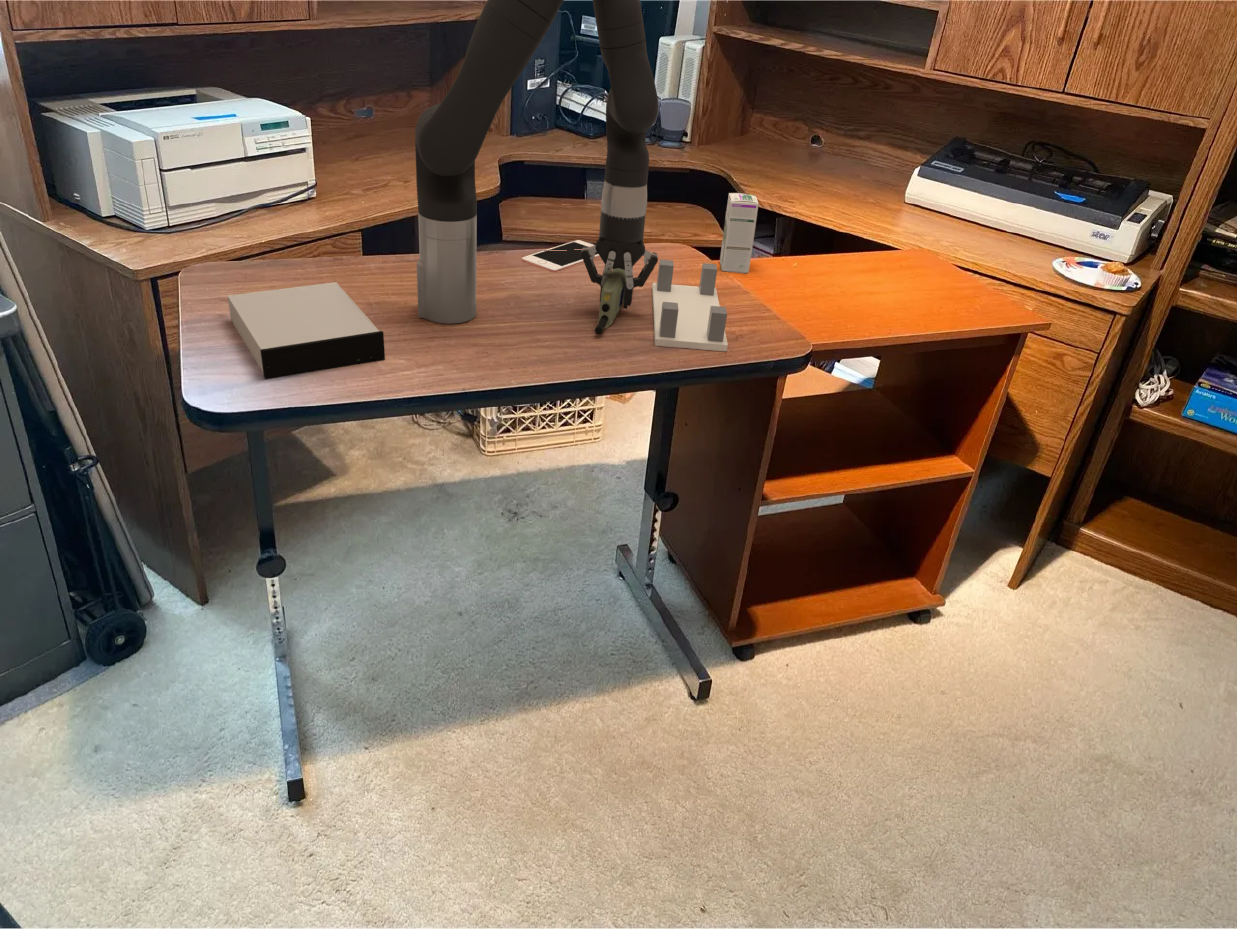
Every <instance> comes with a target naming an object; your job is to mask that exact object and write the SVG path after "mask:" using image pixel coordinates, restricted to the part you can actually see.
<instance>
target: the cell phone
mask: <svg viewBox="0 0 1237 929" xmlns="http://www.w3.org/2000/svg"><path fill="white" fill-rule="evenodd" d="M594 245H595V244H593V243H590V242H586V241H583V240H580V239H577V240H572V241H569V242H566V243H564V244H561V245H557V246H554V247H551V248H548V249H546V250H547V251H544V250H542V251H537V252H535V253H532V254H529V255H525V256H523V257H521V262H523V261H525V262H524V263H526V262H528V263H530V264H529V265H531V264H533V265H532V266H534V265H536V266H535V267H537V266H538V267H537V268H539V267H541V268H540V269H542V268H544V269H543V270H545V269H547V270H546V271H548V270H549V271H548V272H551V273H554V272H555V273H557V272H558V271H559V272H561V270H562V271H565V270H567V269H570V268H572V267H571V266H573V267H575V266H574V265H576V264H579V263H582V262H584V261H583V258H582V256H581V252H582V250H574V249H582V248H583V247H584V246H586V247H591V246H594ZM549 250H567V251H549ZM597 257H599V258H601V257H600V256H599V254H598V252H595V258H596V259H598V258H597ZM595 258H594V259H593V260H596V259H595ZM528 263H527V264H528ZM582 264H583V263H582ZM579 265H580V264H579ZM576 266H577V265H576ZM569 267H570V268H569ZM566 268H567V269H566Z"/></svg>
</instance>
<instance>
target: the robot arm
mask: <svg viewBox="0 0 1237 929" xmlns="http://www.w3.org/2000/svg"><path fill="white" fill-rule="evenodd" d="M564 1H565V0H486V2H485V4H484V6H483V8H482V10H481V13H480V15H479V17H478V19H477V22H476V24H475V27H474V30H473V33H472V35H471V37H470V40H469V43H468V47H467V50H466V53H465V56H464V59H463V62H462V65H461V67H460V70H459V72H458V74H457V76H456V78H455V80H454V81H453V83H452V85H451V87H450V88H449V90H448V92H447V93H446V95H445V97H443V99H442V101H441V103H438V104H433V105H431V106H429V107H428V108H427V109H425V110H424V111H423V112H422V113H421V114H420V116H419V118H418V120H417V122H416V125H415V128H414V129H415V130H414V144H415V145H414V146H415V150H414V152H415V172H416V173H415V174H416V176H415V177H416V178H415V179H416V198H417V213H418V215H417V216H418V219H417V220H418V244H419V245H418V247H419V248H418V249H419V250H418V251H419V258H418V260H417V262H416V288H417V289H416V290H417V317H418V318H421V319H426V320H428V321H431V322H434V323H439V324H452V325H453V324H460V323H465V322H469V321H470V320H473V319H474V318H475V317H476V316H477V304H478V303H477V245H478V244H477V239H478V238H477V233H478V232H477V231H478V230H477V225H478V224H477V222H478V221H477V219H478V218H477V217H478V216H477V214H478V213H477V212H478V210H477V209H478V206H477V204H478V200H477V199H478V198H477V189H476V187H477V186H476V159H477V158H478V155H479V153H480V151H481V148H482V146H483V143H484V141H485V140H486V137H487V134H488V132H489V130H490V129H491V128H490V127H491V125H492V123H493V121H494V119H495V118H496V114H497V113H498V110H499V108H500V107H501V105H502V103H503V102H504V99H506V96H507V95H508V93H509V92H510V91H511V89H512V88H513V86H514V84H515V83H516V81H518V79H519V77H520V75H521V74H522V73H523V71H524V70H525V68H526V66H528V63H529V62H530V60H531V59H532V57H533V55H534V54H535V52H536V51H537V49H538V47H539V45H540V44H541V42H542V40H543V39H544V38H545V35H546V33H547V32H548V30H549V28H550V27H551V25H552V23H553V21H554V19H555V18H556V16H557V14H558V12H559V10H560V8H561V6H562V5H563V2H564ZM592 4H593V5H592V7H593V11H594V17H595V19H594V20H595V25H596V31H597V32H596V33H597V35H598V36H597V37H598V38H597V39H598V43H599V48H600V54H601V58H602V61H603V63H604V65H605V67H606V70H607V71H608V76H609V81H610V90H609V92H608V94H607V98H606V103H605V104H606V105H605V127H606V128H605V130H606V145H607V146H606V148H607V149H606V150H607V151H606V158H605V169H604V182H603V183H604V184H603V186H602V192H601V200H600V216H599V217H600V218H599V234H598V239H597V241H596V242H595V244H593V245H594V246H591V247H586V246H584V247H583V248H582V252H581V256H582V258H583V261H584V263H583V264H584V266H585V269H586V272H587V273H588V276H589V279H590V281H591V283H593V284H598V285H599V287H600V293H599V302H600V301H601V293H602V288H603V286H604V284H605V283H606V281H607V279H608V278H610V275H611V272H612V270H613V269H617V268H620V269H622V270H625V275H626V285H625V291H624V301H623V303H622V308H623V309H624V310H627V309H628V307H630V306H632V302H633V290H634V289H635V288H637V287H639V288H642V287H644V285H645V284H646V283H647V281H648V279H649V277H650V275H651V274H652V272H653V270H654V269H655V267H656V266H657V263H659V262H658V261H659V257H658V254H657V252H655V251H653V252H651V251H649V250H647V249H646V246H645V244H644V236H645V225H646V213H647V208H648V206H647V205H648V178H649V169H650V168H649V167H650V154H649V150H648V147H647V142H646V138H647V131H649V129H650V128H652V126H653V125H654V124H655V122H656V121H657V118H658V114H659V98H658V93H657V92H658V91H657V87H656V84H655V83H656V82H655V79H654V76H653V71H652V68H651V65H650V61H649V57H648V52H647V41H646V40H647V39H646V32H645V25H644V24H645V23H644V18H643V13H642V7H641V6H642V5H641V1H640V0H592ZM595 252H598V254H599V256H600V257H599V258H600V259H601V260H602V262H603V263H604V267H603V272H602V274H600V273H598V270H597V267H596V265H595V262H594V260H595V259H594V258H595ZM642 257H643V263H644V265H643V267H642V269H641V270H640V271H639V272H640V273H639V274H638V276H636V277H634V270H633V268H634V266H635V265H636V263H638V262H639V260H640V259H641V258H642Z"/></svg>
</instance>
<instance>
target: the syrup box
mask: <svg viewBox="0 0 1237 929" xmlns="http://www.w3.org/2000/svg"><path fill="white" fill-rule="evenodd" d="M727 196H728V198H727V204H726V211H725V218H724V225H723V233H722V241H721V249H720V256H719V265H720V269H721V271H723V272H729V273H738V274H739V273H740V274H749V272H750V266H751V259H752V251H753V246H754V239H755V233H756V224H757V218H758V211H759V210H758V209H759V204H760V202H759V201H758V198H757V195H755V194H750V193H741V192H728V195H727Z"/></svg>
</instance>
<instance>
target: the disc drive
mask: <svg viewBox="0 0 1237 929" xmlns="http://www.w3.org/2000/svg"><path fill="white" fill-rule="evenodd" d="M227 301H228V302H227V304H228V308H229V315H230V320H231V323H232V322H233V323H232V324H233V326H234V327H235V329H236V330H237V332H238V335H239V336H240V338H242V341H243V342H244V344H245V346H246V348H247V349H248V351H249V350H250V351H249V353H250V354H251V356H252V357H253V359H254V360H255V362H256V364H257V365H258V367H259V369H260V370H261V372H262V374H263V379H264V380H270V379H276V378H283V377H289V376H294V375H300V374H301V375H302V374H308V373H313V372H319V371H326V370H331V369H338V368H343V367H344V368H345V367H349V366H357V365H362V364H369V363H374V362H375V363H376V362H379V361H380V362H381V361H386V353H385V352H386V351H385V335H384V331H383V330H379V329H378V328H377V327H376V325H375V324H374V323H373V322H372V321H371V320H370V319H369V318H368V317H367V315H366V313H364V312H363V311H362V310H361V309H360V307H359V306H358V305H357V304H356V303H355V302H354V300H353V299H352V298H351V297H350V296H349V295H348V294H347V293H346V292H345V290H344V289H343V287H341V286H340V285H339V284H338V282H337V281H335V282H326V283H325V282H324V283H318V284H317V283H316V284H312V285H310V284H309V285H303V286H295V287H288V288H287V287H286V288H279V289H270V290H269V289H268V290H264V291H263V290H262V291H261V290H260V291H255V292H253V291H252V292H246V293H238V294H237V293H236V294H229V295H227Z"/></svg>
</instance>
